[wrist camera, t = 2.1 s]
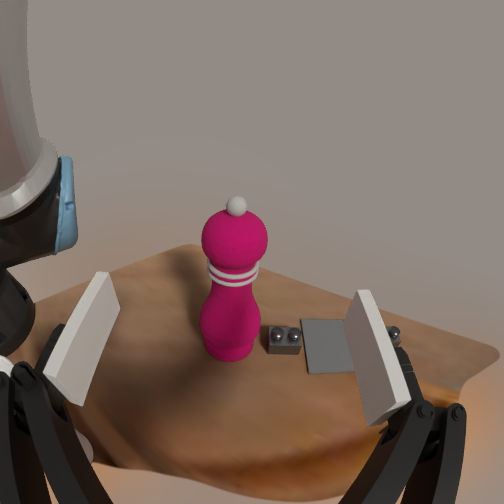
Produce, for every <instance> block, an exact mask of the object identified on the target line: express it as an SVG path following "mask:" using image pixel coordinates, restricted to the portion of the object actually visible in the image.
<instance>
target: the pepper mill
mask: <svg viewBox="0 0 504 504" xmlns="http://www.w3.org/2000/svg"><path fill="white" fill-rule="evenodd" d="M246 210H247V203H246V201H245V200H244V199H243V198H242V197H239V196H234V197H232V198H230V199H229V200H228V202H227V205H226V210H222V211H220V212H217V213H216V214H214V215H213V216H211V217H210V218H209V219H208V221H207V222H206V224H205V226H204V228H203V231H202V239H201V242H202V248H203V251H204V253H205V255H206V256H207V257H208V258H207V265H208V266H207V272H208V275H209V276H210V278H211V279H212V288H211V292H210V294H209V296H208V298H207V299H206V301H205V303H204V304H203V306H202V309H201V312H200V320H199V324H200V329H201V332H202V334H203V336H204V337H205V346H206V349H207V350H208V352H209V353H210V354H211V355H212V356H213V357H215V358H216V359H218V360H221V361H225V362H234V361H238V360H241V359H243V358H245V357H246V356H247V355H248V354H249V353H250V352H251V350H252V348H253V343H254V339H255V338H256V337H257V335H258V333H259V330H260V323H261V317H260V312H259V308H258V306H257V303H256V301H255V299H254V297H253V293H252V281H253V280H255V278H256V277H257V275H258V267H259V260H260V259H261V257H262V256H263V255H264V253H265V251H266V248H267V242H268V237H267V231H266V228H265V225H264V224H263V222H262V221H261V220H260V219H259V217H257V216H256V215H254V214H253V213H251V212H249V211H246Z"/></svg>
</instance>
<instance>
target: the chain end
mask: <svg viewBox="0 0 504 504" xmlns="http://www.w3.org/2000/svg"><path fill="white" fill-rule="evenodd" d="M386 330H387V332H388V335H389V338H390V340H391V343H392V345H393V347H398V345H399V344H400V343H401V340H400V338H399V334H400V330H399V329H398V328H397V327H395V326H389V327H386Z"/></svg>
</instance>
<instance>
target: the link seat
mask: <svg viewBox="0 0 504 504" xmlns="http://www.w3.org/2000/svg"><path fill="white" fill-rule="evenodd" d="M343 321H344V320H325V319H301V325H302V332H303V338H304V345H305V352H306V359H307V366H308V374H322V373H341V372H355V370H354V366H353V362H352V358H351V355H350V351H349V347H348V344H347V340H346V336H345V333H344V329H343V326H342V323H343Z"/></svg>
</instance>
